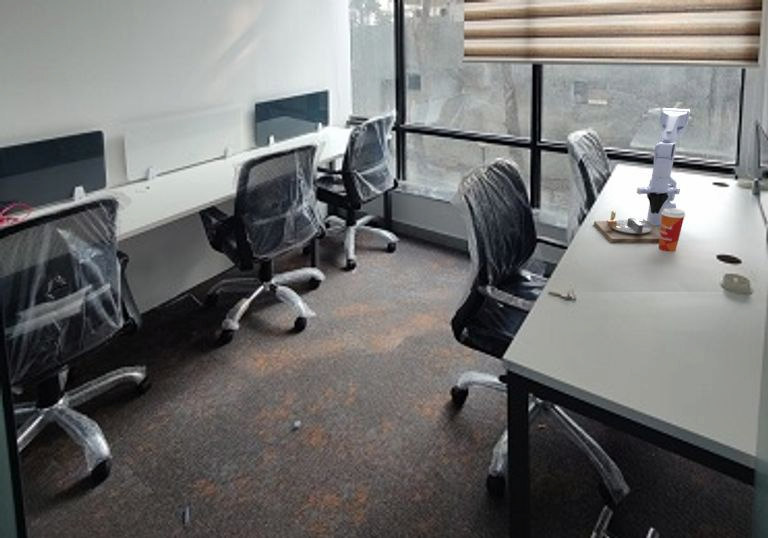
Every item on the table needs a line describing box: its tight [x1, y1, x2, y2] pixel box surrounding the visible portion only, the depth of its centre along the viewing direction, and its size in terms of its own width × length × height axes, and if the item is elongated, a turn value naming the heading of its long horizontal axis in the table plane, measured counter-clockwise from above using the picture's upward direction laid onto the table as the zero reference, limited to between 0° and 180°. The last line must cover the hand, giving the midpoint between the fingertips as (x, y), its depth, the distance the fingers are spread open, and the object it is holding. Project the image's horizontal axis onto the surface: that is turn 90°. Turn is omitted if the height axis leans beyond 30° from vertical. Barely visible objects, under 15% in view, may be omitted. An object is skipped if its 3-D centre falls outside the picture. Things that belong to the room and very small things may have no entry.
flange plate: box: [606, 217, 651, 234], centre depth 230 cm, size 16×16×4 cm
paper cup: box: [658, 207, 686, 253], centre depth 214 cm, size 8×8×14 cm
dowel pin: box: [609, 210, 617, 220], centre depth 237 cm, size 2×2×5 cm
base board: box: [593, 220, 660, 244], centre depth 232 cm, size 21×21×2 cm
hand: (654, 212), depth 225 cm, fingers closed
